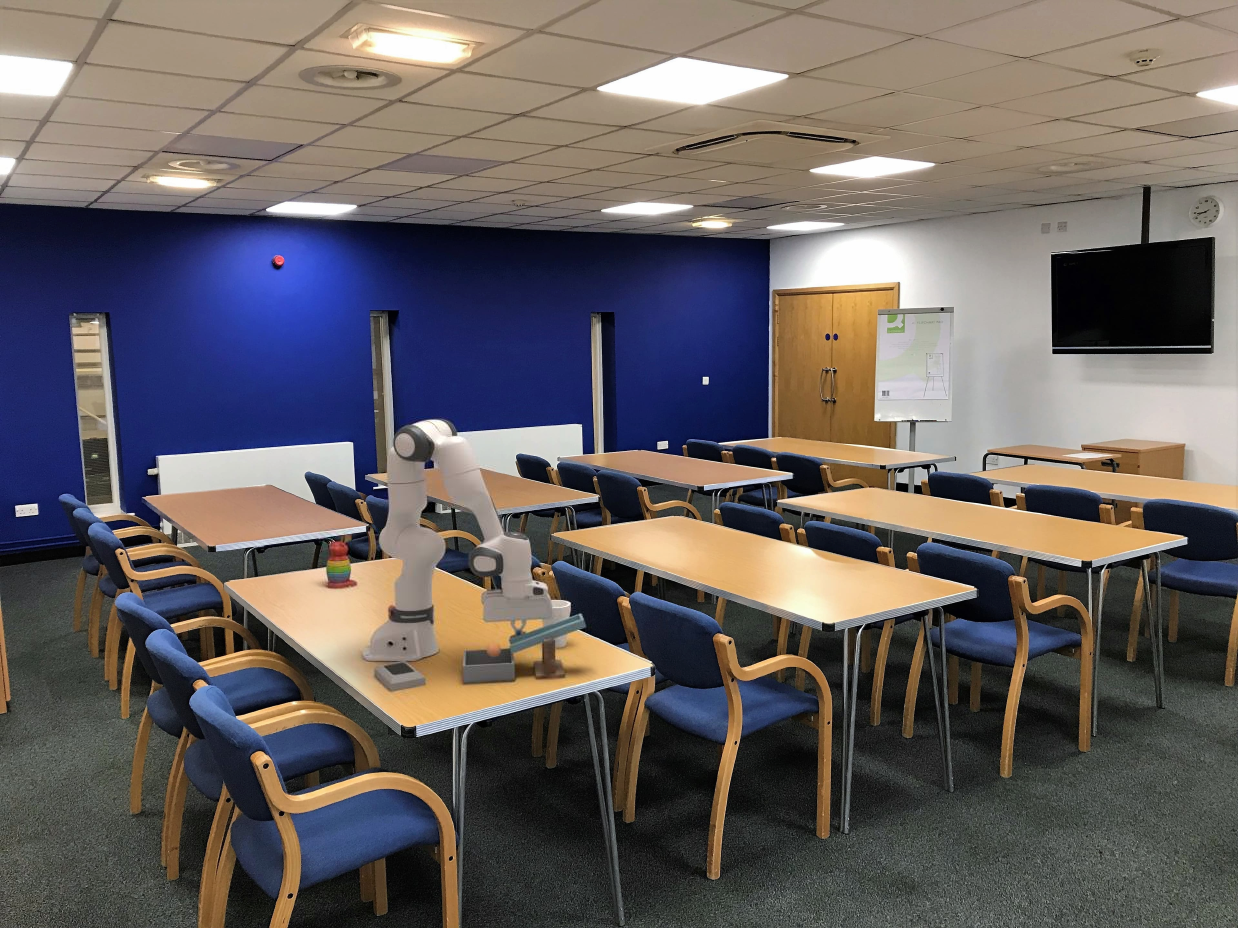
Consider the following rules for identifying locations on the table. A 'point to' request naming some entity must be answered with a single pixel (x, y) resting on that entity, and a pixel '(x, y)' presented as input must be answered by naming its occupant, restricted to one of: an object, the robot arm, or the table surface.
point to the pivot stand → (548, 662)
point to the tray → (488, 666)
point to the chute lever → (546, 633)
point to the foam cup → (559, 618)
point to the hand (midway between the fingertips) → (518, 634)
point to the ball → (493, 649)
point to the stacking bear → (339, 567)
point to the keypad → (399, 676)
